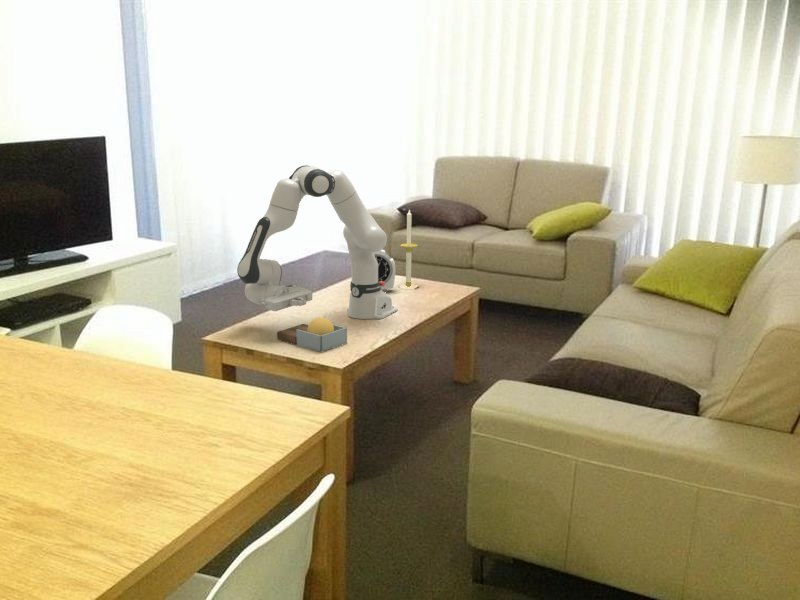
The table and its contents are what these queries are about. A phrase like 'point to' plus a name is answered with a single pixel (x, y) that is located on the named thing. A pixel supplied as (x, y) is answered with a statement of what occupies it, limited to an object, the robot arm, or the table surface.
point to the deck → (291, 334)
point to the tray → (322, 339)
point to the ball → (320, 326)
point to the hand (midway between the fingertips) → (303, 303)
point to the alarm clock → (385, 269)
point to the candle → (408, 250)
